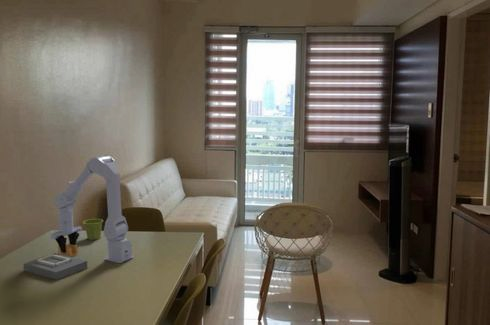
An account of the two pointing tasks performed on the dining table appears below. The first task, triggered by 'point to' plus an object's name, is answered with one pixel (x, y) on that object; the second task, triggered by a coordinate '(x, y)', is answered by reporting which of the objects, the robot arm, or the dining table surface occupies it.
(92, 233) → the plant pot
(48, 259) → the large grey panel
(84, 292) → the dining table surface
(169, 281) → the dining table surface
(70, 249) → the chute
